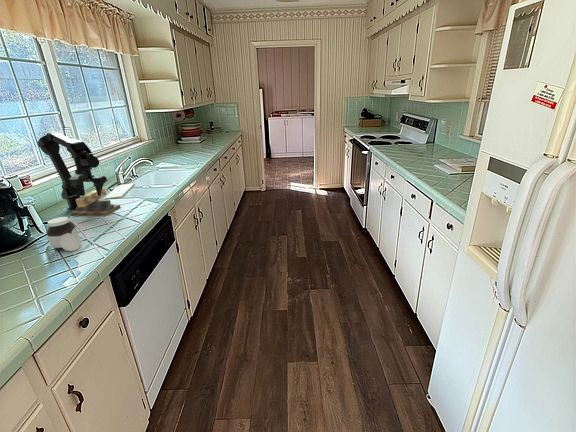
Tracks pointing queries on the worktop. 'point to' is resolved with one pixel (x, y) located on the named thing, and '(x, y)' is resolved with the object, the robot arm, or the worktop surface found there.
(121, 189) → the baseboard molding
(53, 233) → the spread jar
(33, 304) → the worktop surface
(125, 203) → the worktop surface
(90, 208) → the ridge stand
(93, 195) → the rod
